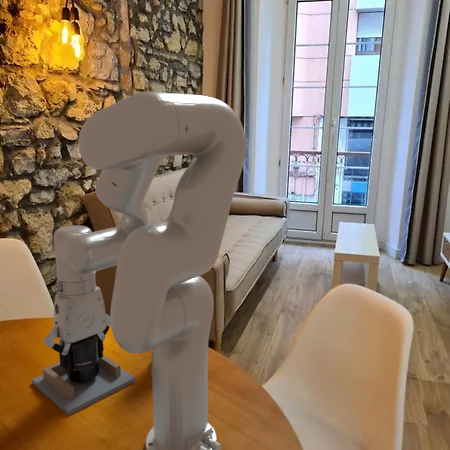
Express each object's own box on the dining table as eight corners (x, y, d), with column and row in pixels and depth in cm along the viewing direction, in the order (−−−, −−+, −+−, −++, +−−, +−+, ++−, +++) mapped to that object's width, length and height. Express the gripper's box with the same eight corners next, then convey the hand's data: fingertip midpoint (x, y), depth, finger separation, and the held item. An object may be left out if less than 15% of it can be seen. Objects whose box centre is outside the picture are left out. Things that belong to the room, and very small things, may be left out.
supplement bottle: (82, 387, 92) (77, 334, 89) (60, 377, 95) (55, 326, 92) (106, 372, 97) (103, 322, 95) (85, 363, 101) (81, 315, 98)
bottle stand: (135, 381, 97) (135, 367, 96) (68, 415, 86) (66, 399, 85) (96, 356, 108) (95, 343, 107) (32, 383, 96) (30, 368, 95)
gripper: (45, 301, 83) (52, 385, 87) (122, 278, 95) (126, 353, 99) (27, 291, 88) (35, 371, 92) (103, 271, 100) (108, 342, 104)
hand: (82, 361), depth 95 cm, fingers closed on supplement bottle, 6 cm apart
